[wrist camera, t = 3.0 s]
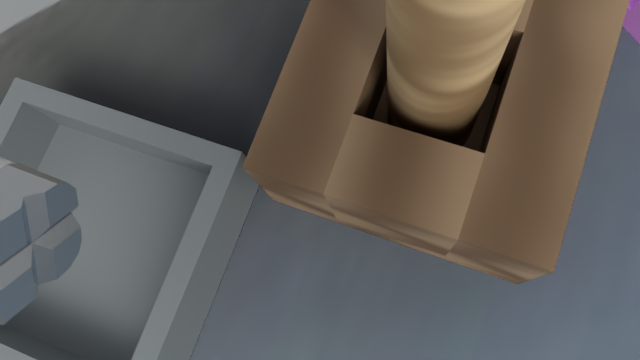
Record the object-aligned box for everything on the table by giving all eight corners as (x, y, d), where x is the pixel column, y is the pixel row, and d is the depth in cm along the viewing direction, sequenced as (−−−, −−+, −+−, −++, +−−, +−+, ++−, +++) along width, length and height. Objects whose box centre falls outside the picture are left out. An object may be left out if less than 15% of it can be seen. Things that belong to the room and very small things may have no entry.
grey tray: (262, 175, 28) (242, 151, 24) (167, 415, 26) (127, 430, 22) (63, 108, 30) (15, 77, 27) (-41, 321, 28) (-110, 320, 24)
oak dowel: (484, 93, 26) (611, -227, 11) (459, 170, 26) (558, -60, 10) (403, 70, 27) (417, -258, 12) (376, 144, 27) (355, -104, 11)
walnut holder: (584, 51, 27) (635, -22, 22) (517, 284, 25) (554, 271, 19) (354, -7, 30) (345, -87, 24) (274, 200, 28) (242, 167, 22)
